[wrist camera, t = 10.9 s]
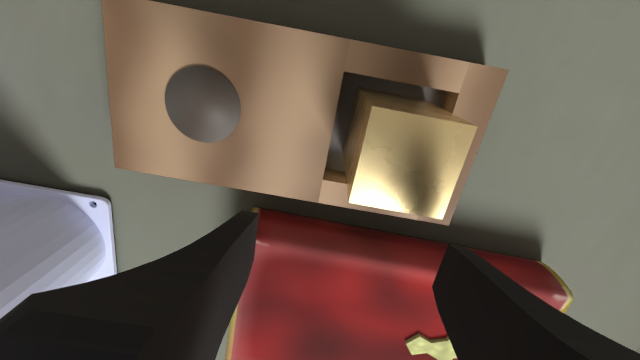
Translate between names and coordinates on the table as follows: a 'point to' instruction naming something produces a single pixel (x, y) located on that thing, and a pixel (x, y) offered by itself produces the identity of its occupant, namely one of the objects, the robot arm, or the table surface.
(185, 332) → the robot arm
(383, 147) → the brass peg
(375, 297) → the hardcover book
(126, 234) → the table surface
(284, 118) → the bore block
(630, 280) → the table surface
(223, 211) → the table surface
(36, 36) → the table surface
